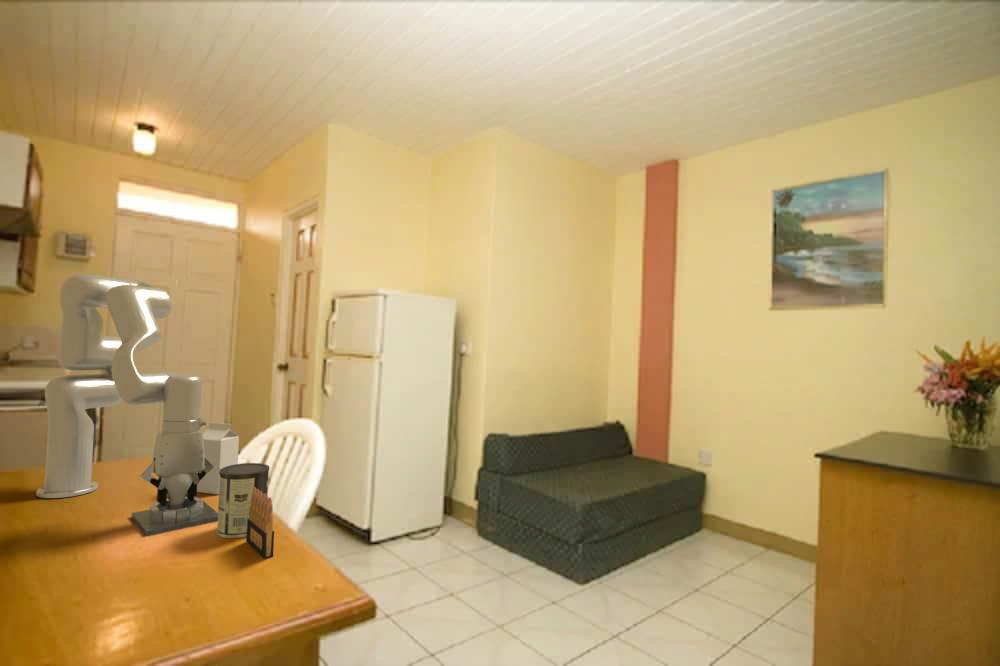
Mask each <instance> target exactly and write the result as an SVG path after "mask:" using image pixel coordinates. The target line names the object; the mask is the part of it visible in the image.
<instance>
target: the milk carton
mask: <svg viewBox="0 0 1000 666" xmlns="http://www.w3.org/2000/svg"><path fill="white" fill-rule="evenodd" d="M202 434H203V441H204V457H205V458H206V459H207V460H208V461H209V462H210V463H211V464H212V465H213V469H212V470H211V471H209V472H208V473H207V474H206V475H205V476H204V477H203V478H202V479H201V480H200V481H199V483H198V484H197V493H203V494H212V495H219V481H220V474H219V470H220V469H222V468H224V467H227V466H230V465H235V464H239V446H240V435H239V434H237V433H236V431H235V430H234V429H232V424H231V423H222V422H221V423H220V422H209V425H208V427H207V428H206V429H205V431H204V432H202ZM197 473H198V472H197Z"/></svg>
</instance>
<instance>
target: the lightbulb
mask: <svg viewBox="0 0 1000 666" xmlns="http://www.w3.org/2000/svg"><path fill="white" fill-rule="evenodd" d="M192 481H193V479H192V475H191V473H179V474H176V475H172V476H169V477H168V479H167V481H166V485H165V487H164V488H165V489H167V499H169V504H170V510H174V509H181V508H183V503H184V501H185V497H187V491H188V489H189V488H190V486H191V484H192Z"/></svg>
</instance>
